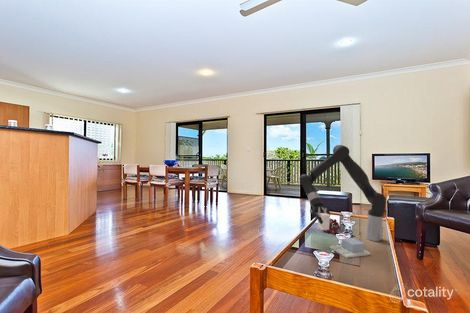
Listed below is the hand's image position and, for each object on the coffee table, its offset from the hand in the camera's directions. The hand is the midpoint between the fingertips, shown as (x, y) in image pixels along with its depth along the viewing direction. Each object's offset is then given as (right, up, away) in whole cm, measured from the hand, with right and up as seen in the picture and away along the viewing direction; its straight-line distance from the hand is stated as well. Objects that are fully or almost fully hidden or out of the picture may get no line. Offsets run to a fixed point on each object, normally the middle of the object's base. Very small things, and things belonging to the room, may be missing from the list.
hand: (325, 222), depth 158 cm
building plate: (+13, -16, -5) cm, 21 cm away
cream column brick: (-1, -4, +2) cm, 5 cm away
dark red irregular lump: (+14, -15, +28) cm, 34 cm away
